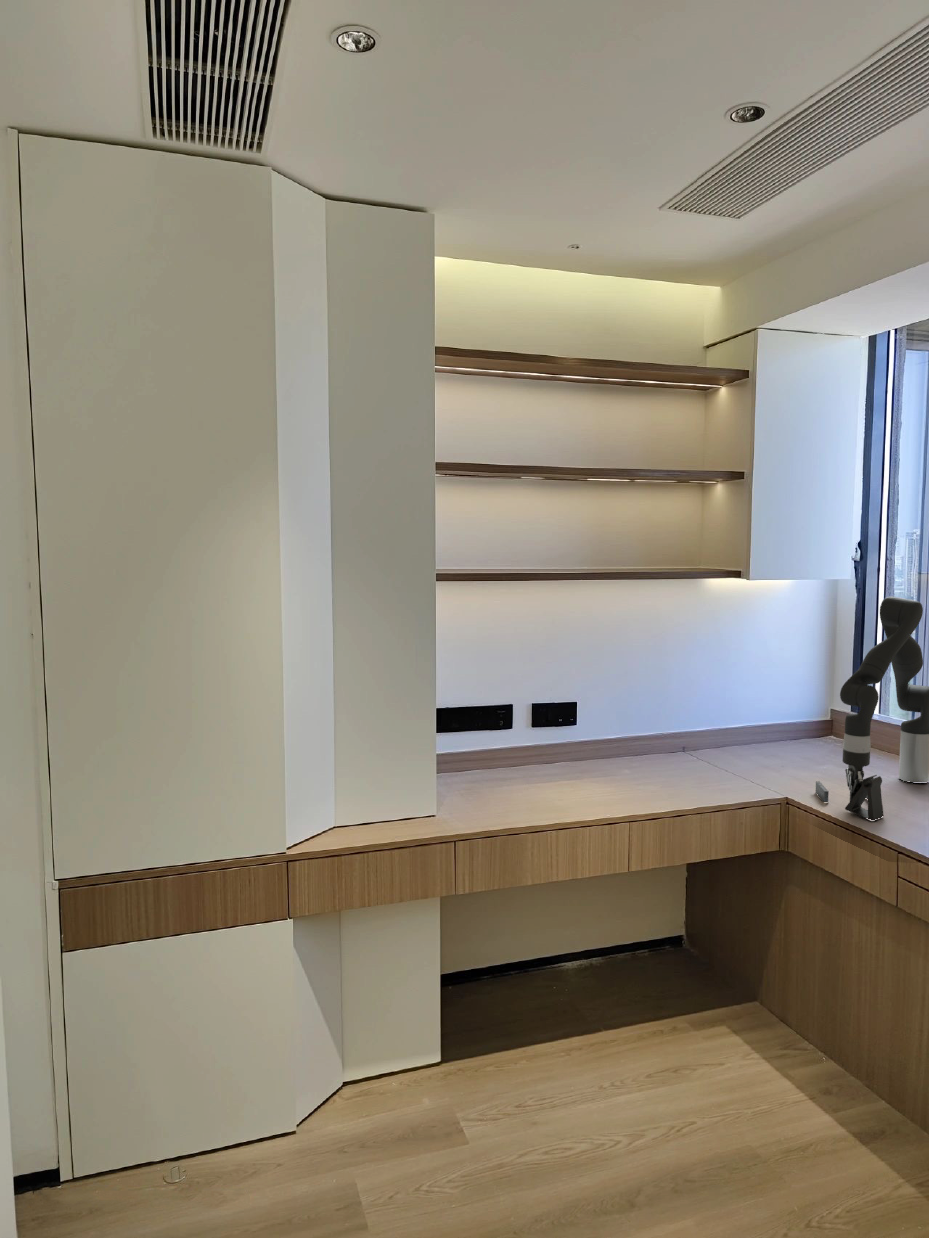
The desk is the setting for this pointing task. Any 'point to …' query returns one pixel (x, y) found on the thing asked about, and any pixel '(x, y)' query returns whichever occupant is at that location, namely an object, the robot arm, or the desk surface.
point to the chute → (823, 791)
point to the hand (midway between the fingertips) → (853, 803)
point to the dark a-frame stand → (874, 799)
